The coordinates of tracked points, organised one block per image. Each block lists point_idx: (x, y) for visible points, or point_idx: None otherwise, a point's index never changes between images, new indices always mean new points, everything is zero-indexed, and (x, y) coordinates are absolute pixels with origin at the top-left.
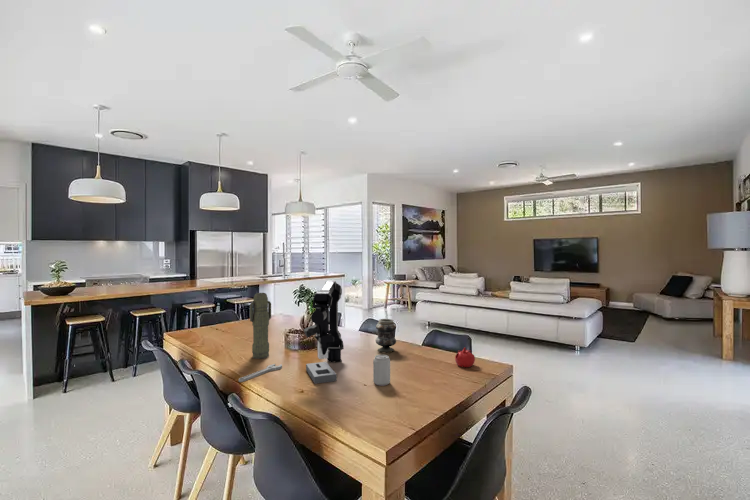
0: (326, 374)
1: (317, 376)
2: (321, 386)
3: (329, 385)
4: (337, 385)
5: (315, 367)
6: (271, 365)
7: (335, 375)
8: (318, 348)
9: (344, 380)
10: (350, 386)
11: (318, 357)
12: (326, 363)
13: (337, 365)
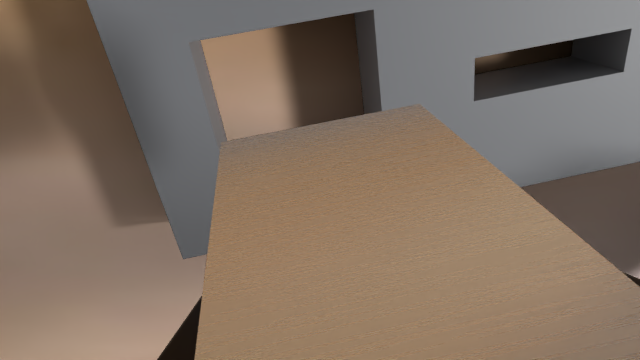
0: (186, 155)
1: (104, 34)
2: (17, 64)
3: (56, 151)
4: (58, 224)
5: (499, 22)
6: None
7: (181, 242)
8: (381, 262)
9: (198, 280)
10: (35, 321)
11: (319, 128)
12: (585, 163)
13: (602, 232)
